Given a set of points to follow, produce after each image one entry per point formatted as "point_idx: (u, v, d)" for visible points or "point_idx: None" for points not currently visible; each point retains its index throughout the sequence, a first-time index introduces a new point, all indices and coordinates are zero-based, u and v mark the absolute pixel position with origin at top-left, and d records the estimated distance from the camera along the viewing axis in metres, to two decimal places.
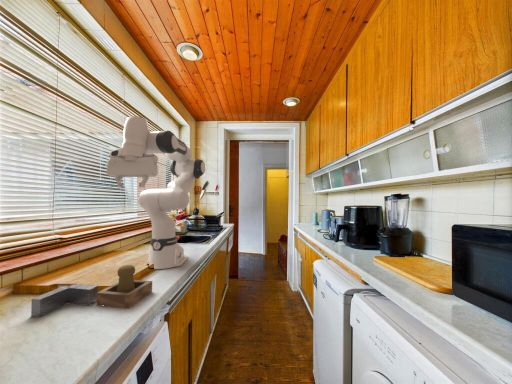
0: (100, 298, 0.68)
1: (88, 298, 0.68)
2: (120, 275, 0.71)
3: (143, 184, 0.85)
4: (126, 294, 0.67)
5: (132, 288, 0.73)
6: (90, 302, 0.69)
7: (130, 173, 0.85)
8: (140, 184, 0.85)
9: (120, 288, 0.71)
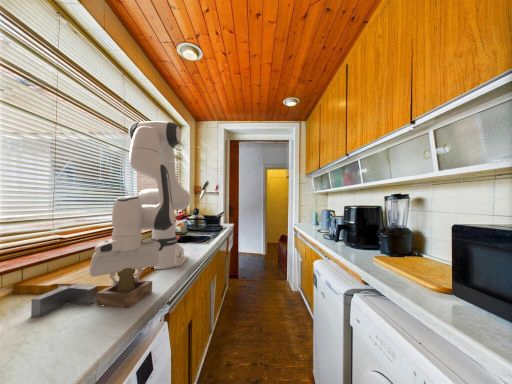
0: (100, 298, 0.68)
1: (88, 298, 0.68)
2: (120, 275, 0.71)
3: None
4: (126, 294, 0.67)
5: (132, 288, 0.73)
6: (90, 302, 0.69)
7: None
8: (136, 279, 0.74)
9: (120, 288, 0.71)
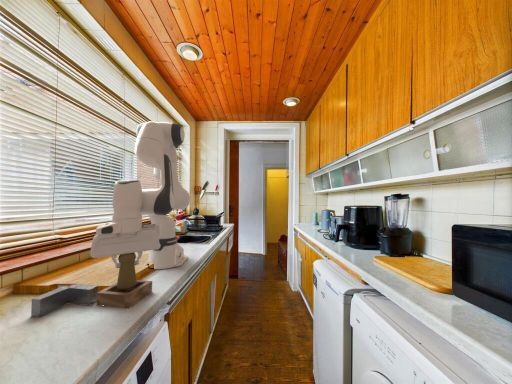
0: (100, 298, 0.68)
1: (88, 298, 0.68)
2: (121, 261, 0.71)
3: (138, 260, 0.76)
4: (126, 294, 0.67)
5: (133, 274, 0.73)
6: (90, 302, 0.69)
7: (130, 251, 0.73)
8: (136, 262, 0.74)
9: (121, 274, 0.71)
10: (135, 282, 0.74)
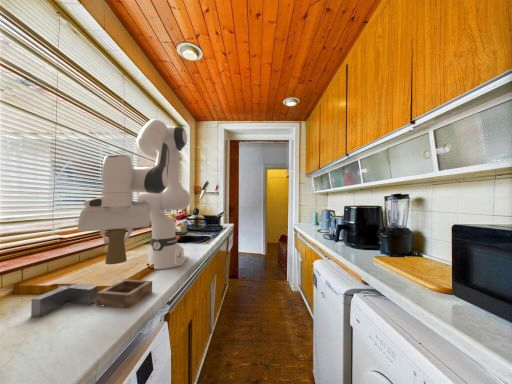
0: (100, 298, 0.68)
1: (88, 298, 0.68)
2: (110, 236, 0.69)
3: None
4: (126, 294, 0.67)
5: (123, 251, 0.71)
6: (90, 302, 0.69)
7: (119, 226, 0.71)
8: (126, 238, 0.73)
9: (110, 249, 0.69)
10: (124, 259, 0.72)
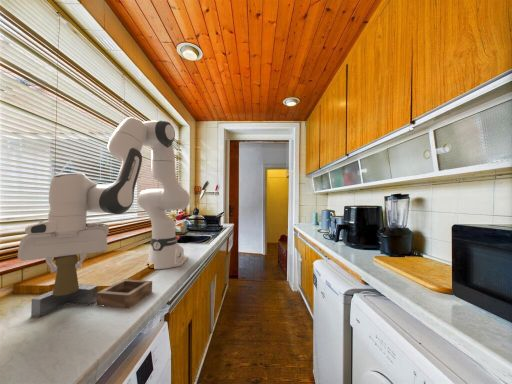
0: (100, 298, 0.68)
1: (88, 298, 0.68)
2: (58, 265, 0.63)
3: None
4: (126, 294, 0.67)
5: (73, 279, 0.65)
6: (90, 302, 0.69)
7: (69, 253, 0.64)
8: (77, 265, 0.66)
9: (58, 279, 0.63)
10: (75, 288, 0.65)
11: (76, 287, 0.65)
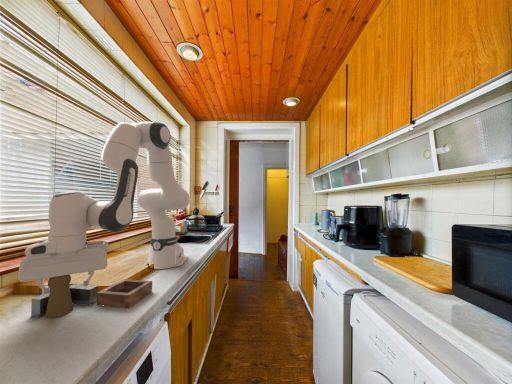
0: (100, 298, 0.68)
1: (88, 298, 0.68)
2: (50, 286, 0.62)
3: None
4: (126, 294, 0.67)
5: (66, 300, 0.64)
6: (90, 302, 0.69)
7: (69, 272, 0.64)
8: (86, 282, 0.67)
9: (50, 300, 0.62)
10: (69, 309, 0.64)
11: (70, 307, 0.64)
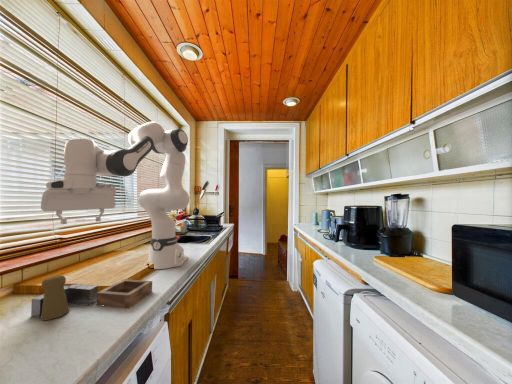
0: (100, 298, 0.68)
1: (88, 298, 0.68)
2: (46, 287, 0.60)
3: (100, 218, 0.79)
4: (126, 294, 0.67)
5: (63, 300, 0.63)
6: (90, 302, 0.69)
7: (83, 207, 0.75)
8: (97, 218, 0.78)
9: (47, 302, 0.60)
10: (66, 309, 0.63)
11: (67, 308, 0.64)
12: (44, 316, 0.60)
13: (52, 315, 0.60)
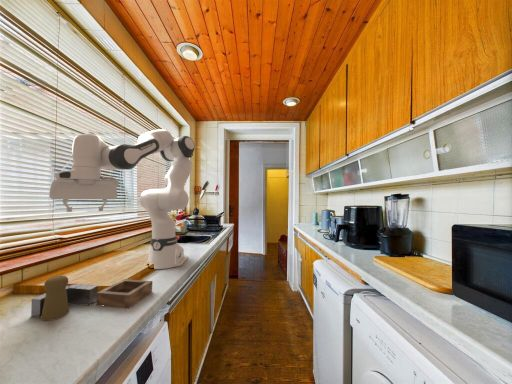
0: (100, 298, 0.68)
1: (88, 298, 0.68)
2: (49, 289, 0.60)
3: None
4: (126, 294, 0.67)
5: (65, 302, 0.63)
6: (90, 302, 0.69)
7: (87, 197, 0.81)
8: (100, 208, 0.84)
9: (49, 303, 0.60)
10: (67, 310, 0.64)
11: (67, 309, 0.64)
12: (45, 317, 0.60)
13: (54, 316, 0.60)
